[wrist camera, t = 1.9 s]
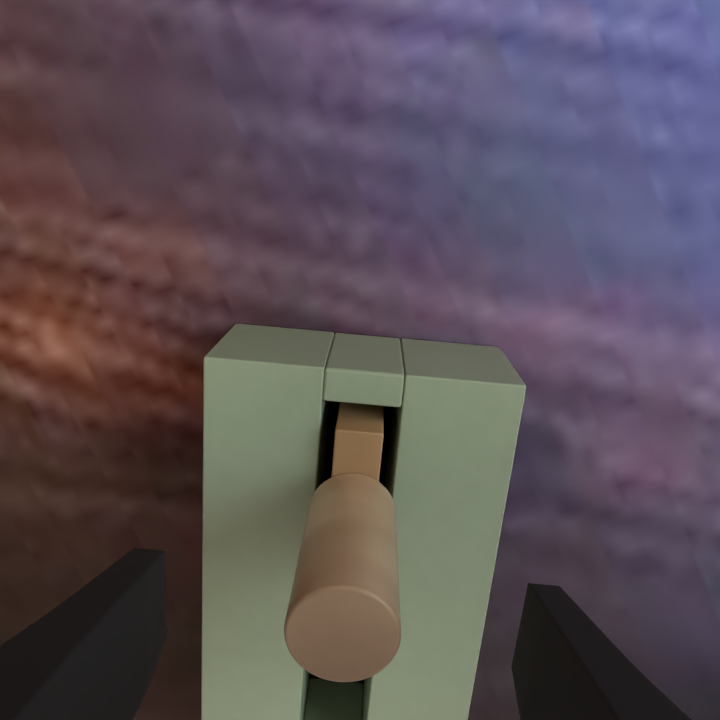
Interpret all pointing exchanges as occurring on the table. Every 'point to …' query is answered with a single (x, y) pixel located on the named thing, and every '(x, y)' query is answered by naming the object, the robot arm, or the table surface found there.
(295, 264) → the table surface
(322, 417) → the green slotted block
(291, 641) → the wooden peg
